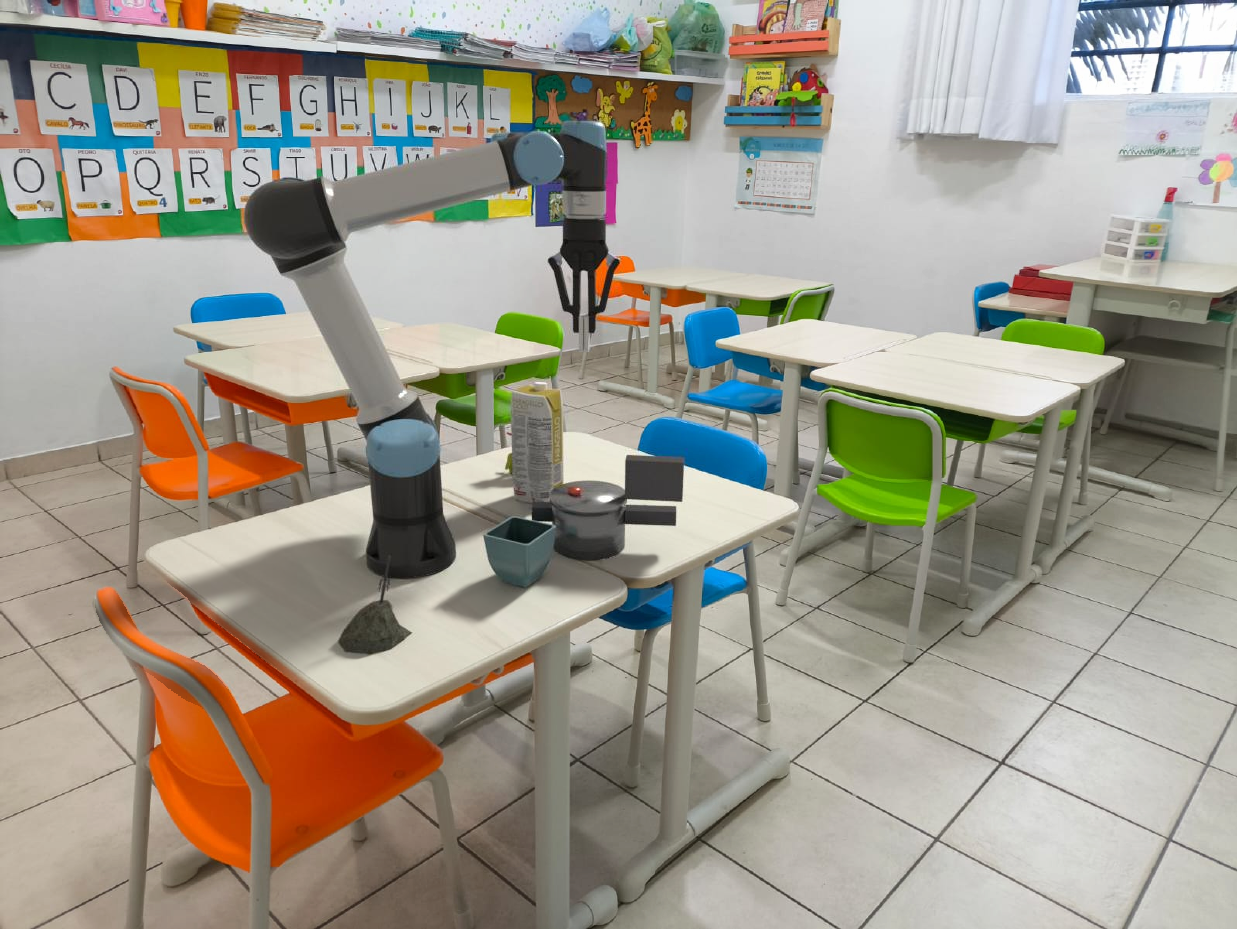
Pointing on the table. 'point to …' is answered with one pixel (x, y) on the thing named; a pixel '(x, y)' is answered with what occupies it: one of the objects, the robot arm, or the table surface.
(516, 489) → the juice carton
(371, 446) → the robot arm
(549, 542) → the flower pot
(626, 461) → the lid
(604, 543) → the pot
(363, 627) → the sword in stone
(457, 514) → the table surface
